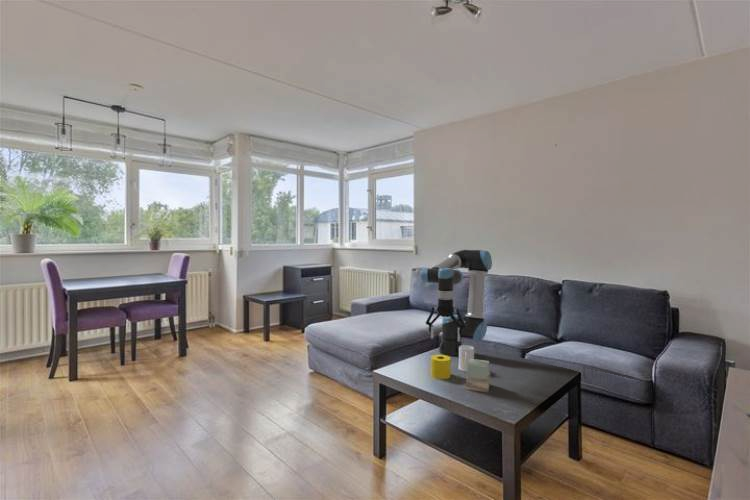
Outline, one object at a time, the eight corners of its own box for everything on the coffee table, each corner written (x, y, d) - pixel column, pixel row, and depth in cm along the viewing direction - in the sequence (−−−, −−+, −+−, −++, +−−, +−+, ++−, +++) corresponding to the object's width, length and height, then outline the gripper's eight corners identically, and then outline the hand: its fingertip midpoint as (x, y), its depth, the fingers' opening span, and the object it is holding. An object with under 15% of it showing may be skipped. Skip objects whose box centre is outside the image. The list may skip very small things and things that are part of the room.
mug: (472, 374, 195) (472, 352, 194) (456, 372, 198) (456, 350, 197) (475, 367, 205) (475, 346, 205) (459, 365, 209) (459, 344, 208)
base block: (469, 381, 186) (469, 370, 186) (489, 384, 182) (490, 372, 182) (466, 389, 177) (466, 377, 177) (487, 393, 173) (487, 380, 173)
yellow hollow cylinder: (446, 380, 187) (446, 362, 186) (427, 376, 192) (427, 358, 192) (453, 374, 195) (453, 356, 195) (435, 370, 201) (435, 353, 200)
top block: (470, 370, 185) (470, 358, 185) (488, 373, 182) (489, 361, 181) (467, 376, 177) (467, 364, 177) (486, 379, 173) (487, 367, 173)
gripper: (419, 298, 190) (419, 338, 191) (469, 301, 181) (469, 344, 182) (423, 295, 197) (423, 335, 198) (471, 298, 188) (471, 339, 189)
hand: (445, 339), depth 190 cm, fingers open, 13 cm apart
